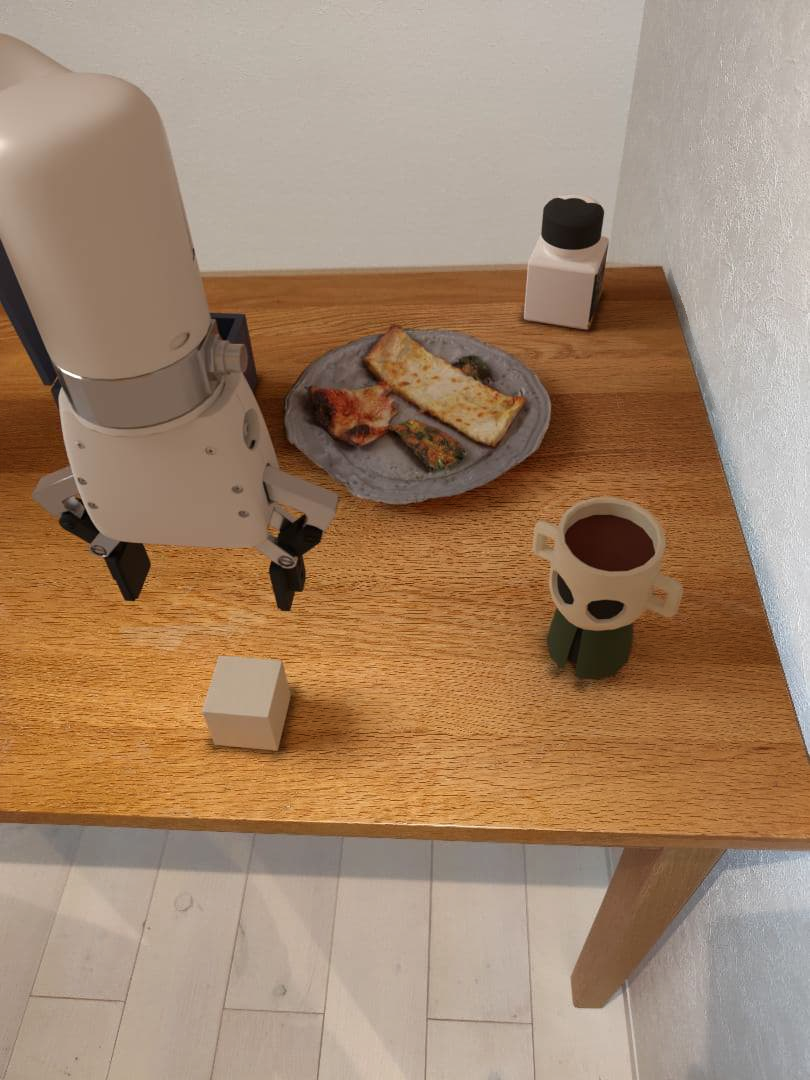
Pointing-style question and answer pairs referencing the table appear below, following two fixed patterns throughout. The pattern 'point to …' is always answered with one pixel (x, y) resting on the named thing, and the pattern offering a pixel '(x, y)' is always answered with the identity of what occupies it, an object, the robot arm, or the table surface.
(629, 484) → the table surface
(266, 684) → the cube block
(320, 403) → the food plate
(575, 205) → the medicine bottle
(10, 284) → the lid
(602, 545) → the character mug
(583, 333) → the table surface
